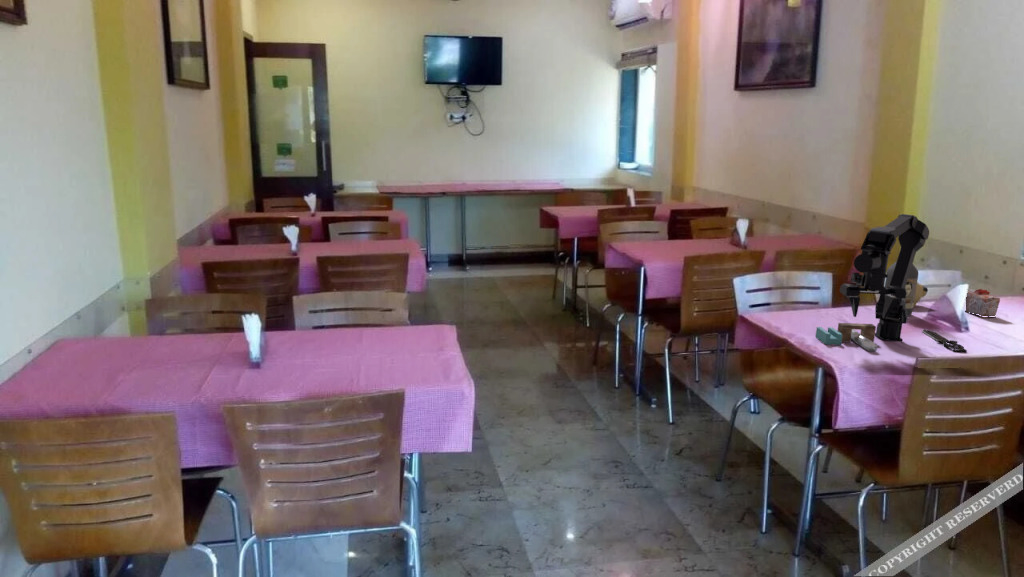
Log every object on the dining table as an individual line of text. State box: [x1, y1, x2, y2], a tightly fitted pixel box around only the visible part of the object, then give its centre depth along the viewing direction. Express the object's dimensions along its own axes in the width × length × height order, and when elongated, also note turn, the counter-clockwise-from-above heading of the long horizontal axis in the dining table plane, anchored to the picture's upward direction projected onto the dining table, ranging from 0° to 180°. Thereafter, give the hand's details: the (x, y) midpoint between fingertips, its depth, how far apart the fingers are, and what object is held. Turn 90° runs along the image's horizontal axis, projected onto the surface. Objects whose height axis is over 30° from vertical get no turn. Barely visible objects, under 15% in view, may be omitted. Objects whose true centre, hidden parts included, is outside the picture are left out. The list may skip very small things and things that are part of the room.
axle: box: [850, 329, 878, 353], centre depth 249 cm, size 3×16×3 cm, turn 1°
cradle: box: [815, 326, 843, 346], centre depth 251 cm, size 5×8×4 cm, turn 0°
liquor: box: [884, 260, 919, 317], centre depth 288 cm, size 9×9×30 cm
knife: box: [921, 329, 968, 354], centre depth 256 cm, size 25×6×1 cm, turn 171°
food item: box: [966, 288, 1001, 316], centre depth 293 cm, size 14×8×10 cm, turn 11°
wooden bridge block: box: [837, 322, 877, 343], centre depth 252 cm, size 11×3×5 cm, turn 90°
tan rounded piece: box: [913, 281, 929, 307], centre depth 303 cm, size 10×12×11 cm
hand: (869, 317), depth 243 cm, fingers open, 9 cm apart
